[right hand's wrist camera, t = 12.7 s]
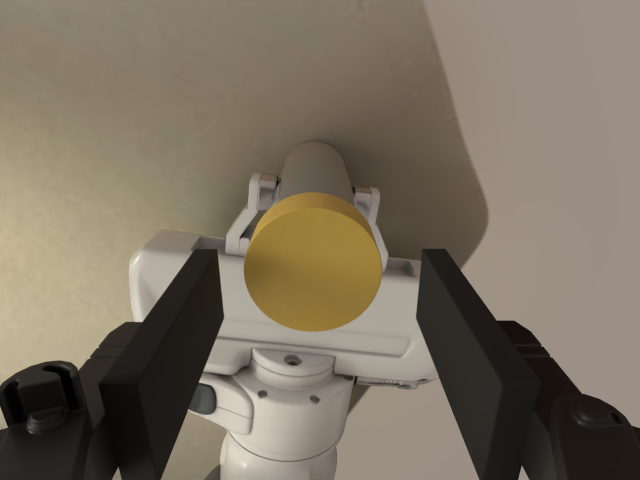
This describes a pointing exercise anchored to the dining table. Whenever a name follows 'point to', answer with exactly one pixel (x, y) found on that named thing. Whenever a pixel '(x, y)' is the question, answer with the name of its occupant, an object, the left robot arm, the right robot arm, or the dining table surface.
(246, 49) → the dining table surface
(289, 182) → the blue tall cylinder
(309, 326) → the lid
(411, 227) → the dining table surface
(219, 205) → the dining table surface
